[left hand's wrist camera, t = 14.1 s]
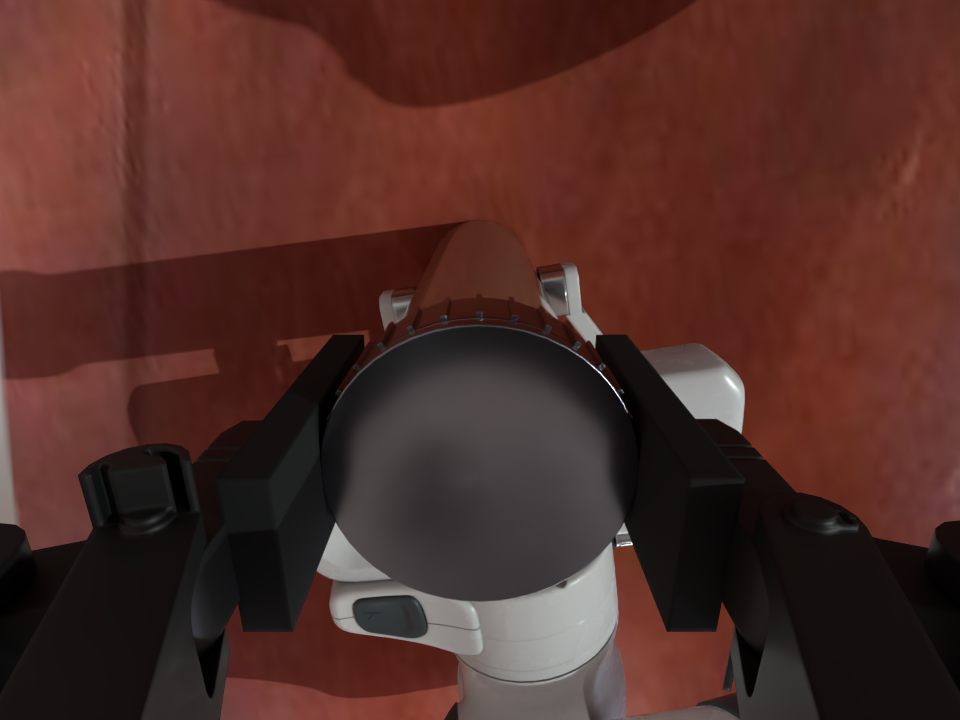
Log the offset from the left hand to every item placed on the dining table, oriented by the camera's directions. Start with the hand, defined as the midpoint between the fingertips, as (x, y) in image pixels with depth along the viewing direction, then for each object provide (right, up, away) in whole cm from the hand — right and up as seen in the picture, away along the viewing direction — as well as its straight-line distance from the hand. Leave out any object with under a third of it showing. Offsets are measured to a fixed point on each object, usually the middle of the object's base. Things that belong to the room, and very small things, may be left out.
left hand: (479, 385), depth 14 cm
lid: (0, -1, -4) cm, 4 cm away
